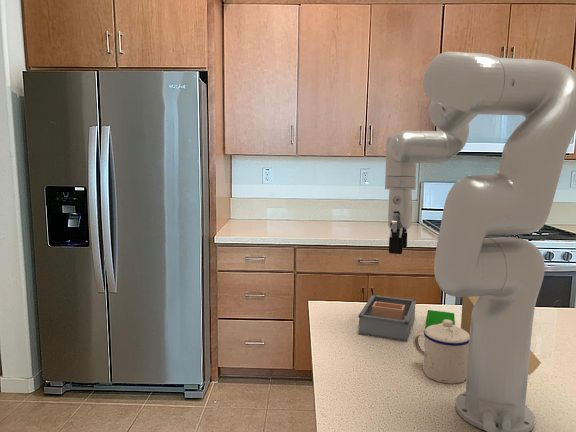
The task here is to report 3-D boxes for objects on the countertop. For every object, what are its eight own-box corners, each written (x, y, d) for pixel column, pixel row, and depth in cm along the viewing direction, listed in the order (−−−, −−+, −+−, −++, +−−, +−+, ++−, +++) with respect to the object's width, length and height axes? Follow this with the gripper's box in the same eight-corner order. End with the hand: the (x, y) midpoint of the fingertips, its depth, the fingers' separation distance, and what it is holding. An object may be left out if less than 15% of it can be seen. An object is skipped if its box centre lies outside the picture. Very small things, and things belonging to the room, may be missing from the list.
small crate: (402, 328, 116) (402, 310, 115) (371, 324, 119) (372, 306, 118) (404, 322, 120) (405, 305, 119) (374, 318, 123) (375, 301, 122)
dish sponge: (453, 321, 124) (454, 312, 124) (454, 339, 112) (455, 330, 111) (427, 317, 127) (427, 309, 127) (424, 335, 114) (425, 326, 114)
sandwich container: (530, 376, 93) (536, 307, 91) (458, 353, 103) (462, 291, 101) (542, 363, 99) (548, 297, 97) (473, 342, 109) (477, 283, 107)
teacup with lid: (475, 375, 93) (479, 321, 91) (454, 390, 86) (458, 332, 85) (423, 355, 101) (426, 306, 100) (401, 368, 95) (404, 316, 94)
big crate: (407, 342, 109) (408, 322, 108) (357, 334, 113) (358, 315, 112) (415, 317, 125) (416, 300, 125) (371, 311, 130) (372, 294, 129)
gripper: (412, 185, 103) (409, 257, 105) (418, 182, 119) (416, 245, 121) (379, 184, 106) (377, 255, 107) (390, 182, 122) (388, 243, 123)
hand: (398, 250), depth 114 cm, fingers open, 9 cm apart
